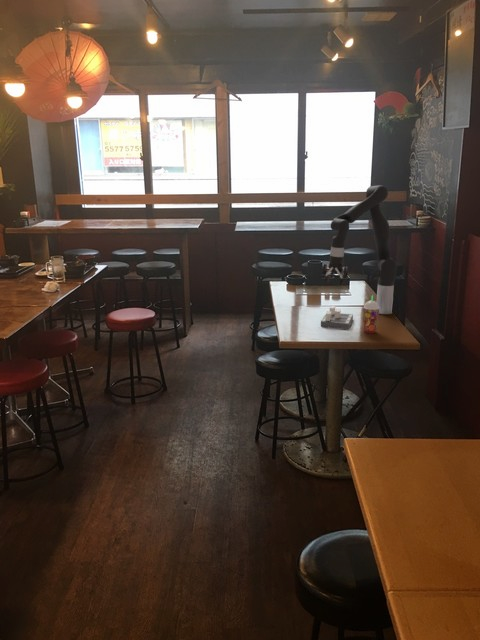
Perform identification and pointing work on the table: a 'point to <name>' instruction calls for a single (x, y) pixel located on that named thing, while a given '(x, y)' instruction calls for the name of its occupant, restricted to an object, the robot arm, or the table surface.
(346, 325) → the breaker panel
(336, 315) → the block
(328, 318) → the breaker near
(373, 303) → the smoothie
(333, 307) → the block
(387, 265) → the robot arm
